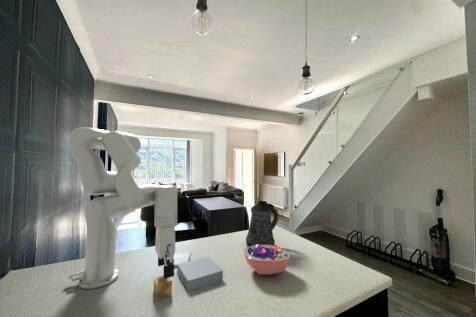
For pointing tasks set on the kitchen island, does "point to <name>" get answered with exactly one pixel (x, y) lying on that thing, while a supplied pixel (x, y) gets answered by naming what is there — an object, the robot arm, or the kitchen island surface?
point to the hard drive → (181, 258)
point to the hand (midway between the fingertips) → (165, 270)
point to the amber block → (162, 287)
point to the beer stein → (262, 224)
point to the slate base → (199, 273)
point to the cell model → (266, 259)
